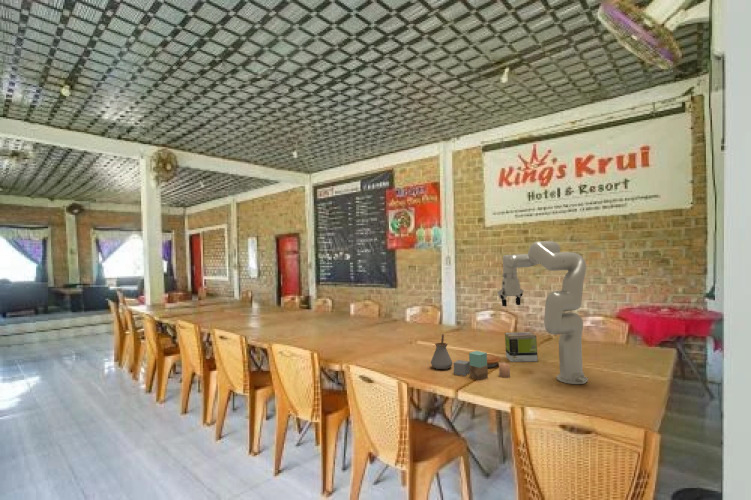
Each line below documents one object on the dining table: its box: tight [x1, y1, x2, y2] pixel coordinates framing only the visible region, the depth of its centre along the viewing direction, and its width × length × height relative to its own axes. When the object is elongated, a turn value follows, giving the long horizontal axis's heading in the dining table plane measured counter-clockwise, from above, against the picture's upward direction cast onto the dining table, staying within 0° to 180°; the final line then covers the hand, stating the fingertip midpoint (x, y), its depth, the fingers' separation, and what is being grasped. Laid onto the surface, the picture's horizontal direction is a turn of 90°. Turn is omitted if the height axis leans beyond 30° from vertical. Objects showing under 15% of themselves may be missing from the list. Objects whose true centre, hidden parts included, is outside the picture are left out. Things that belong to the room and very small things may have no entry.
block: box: [453, 359, 470, 377], centre depth 191 cm, size 6×6×6 cm
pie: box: [487, 353, 501, 369], centre depth 206 cm, size 15×16×5 cm
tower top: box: [468, 350, 488, 368], centre depth 185 cm, size 6×6×6 cm
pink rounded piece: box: [498, 361, 511, 379], centre depth 186 cm, size 5×5×6 cm
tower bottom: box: [469, 366, 489, 381], centre depth 185 cm, size 6×6×6 cm
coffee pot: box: [430, 334, 453, 370], centre depth 207 cm, size 21×12×15 cm, turn 165°
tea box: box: [504, 331, 539, 363], centre depth 214 cm, size 15×10×15 cm
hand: (511, 305), depth 219 cm, fingers open, 9 cm apart
